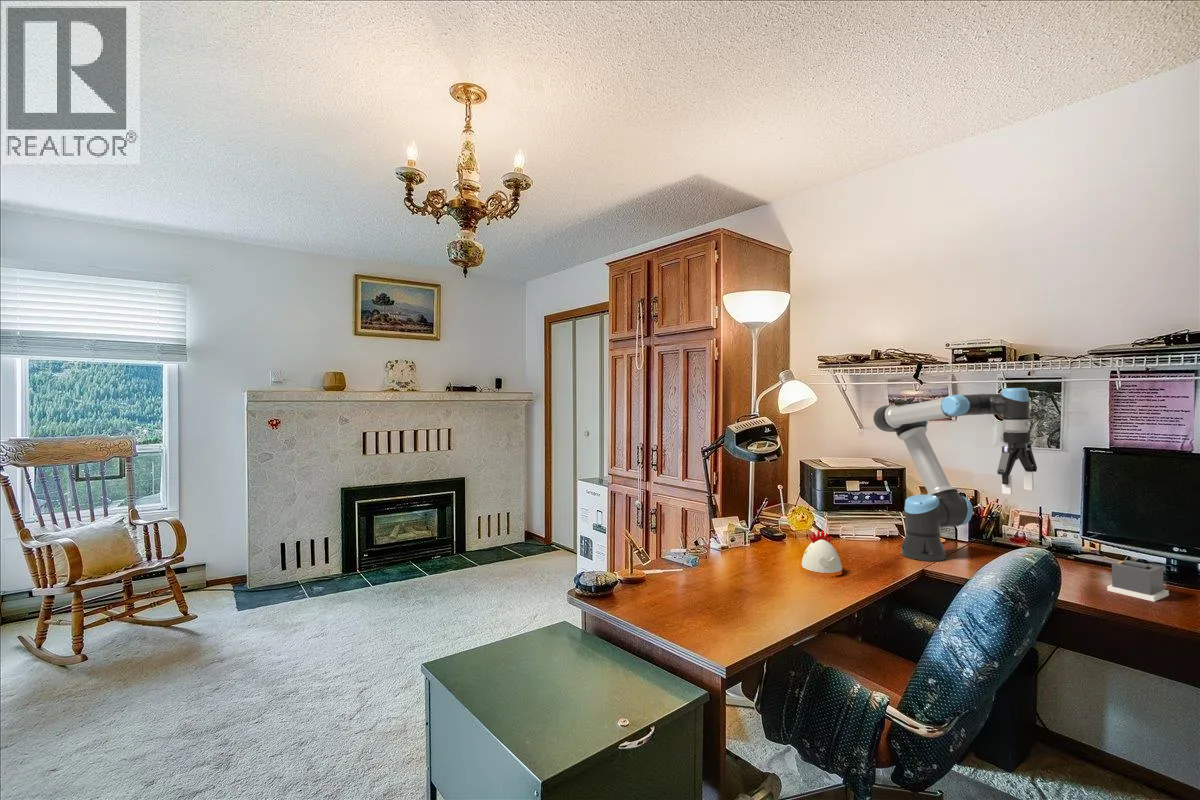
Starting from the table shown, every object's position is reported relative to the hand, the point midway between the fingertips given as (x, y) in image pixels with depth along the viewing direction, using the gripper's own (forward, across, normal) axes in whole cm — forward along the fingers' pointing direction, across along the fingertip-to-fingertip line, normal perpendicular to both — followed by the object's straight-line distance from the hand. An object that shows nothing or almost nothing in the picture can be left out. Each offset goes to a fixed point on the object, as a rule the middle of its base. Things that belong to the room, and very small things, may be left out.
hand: (1018, 491), depth 192 cm
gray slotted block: (+27, +9, -28) cm, 40 cm away
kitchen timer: (+29, -56, +37) cm, 73 cm away
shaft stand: (+29, +9, -28) cm, 41 cm away
